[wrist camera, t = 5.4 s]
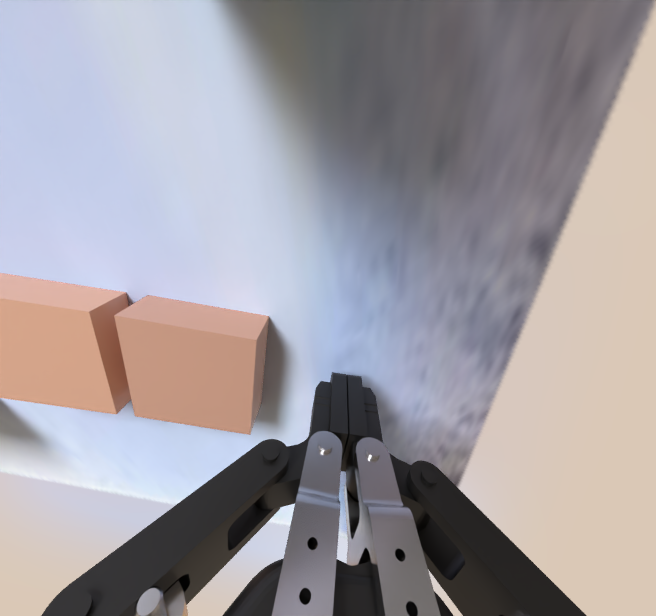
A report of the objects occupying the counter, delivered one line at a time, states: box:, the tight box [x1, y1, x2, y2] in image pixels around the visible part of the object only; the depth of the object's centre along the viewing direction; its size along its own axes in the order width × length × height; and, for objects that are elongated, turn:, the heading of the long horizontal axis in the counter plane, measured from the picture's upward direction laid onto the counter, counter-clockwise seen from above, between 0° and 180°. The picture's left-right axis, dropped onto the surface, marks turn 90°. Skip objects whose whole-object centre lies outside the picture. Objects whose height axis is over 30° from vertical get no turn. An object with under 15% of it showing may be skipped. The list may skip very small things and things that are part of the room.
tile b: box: [114, 295, 269, 435], centre depth 14 cm, size 6×6×2 cm
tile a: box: [0, 273, 131, 414], centre depth 13 cm, size 6×6×2 cm
